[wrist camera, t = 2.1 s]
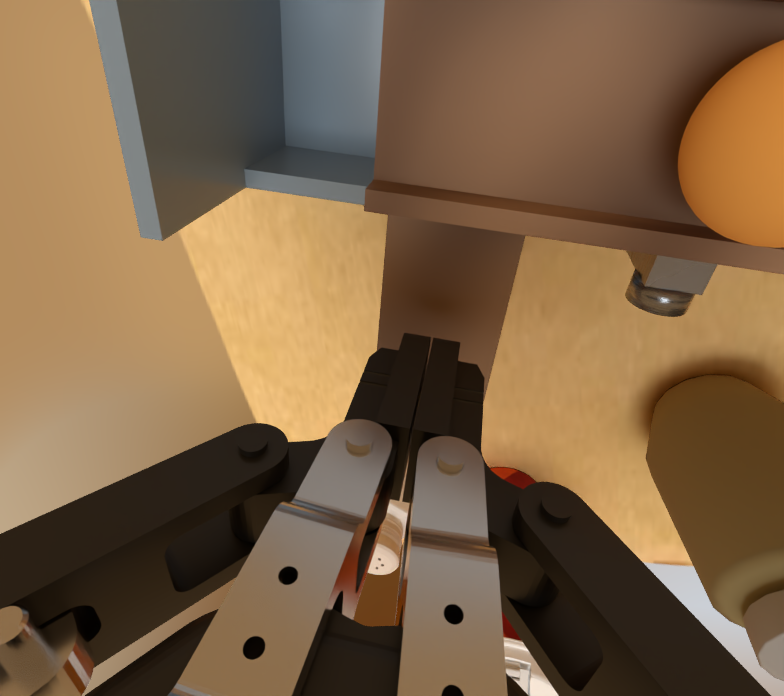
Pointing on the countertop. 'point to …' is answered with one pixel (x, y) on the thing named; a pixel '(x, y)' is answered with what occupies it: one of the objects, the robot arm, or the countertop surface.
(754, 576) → the squeeze bottle
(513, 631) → the paper cup
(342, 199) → the cup
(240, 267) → the countertop surface
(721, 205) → the ball
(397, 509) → the salt shaker
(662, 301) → the pivot stand
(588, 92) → the lever
